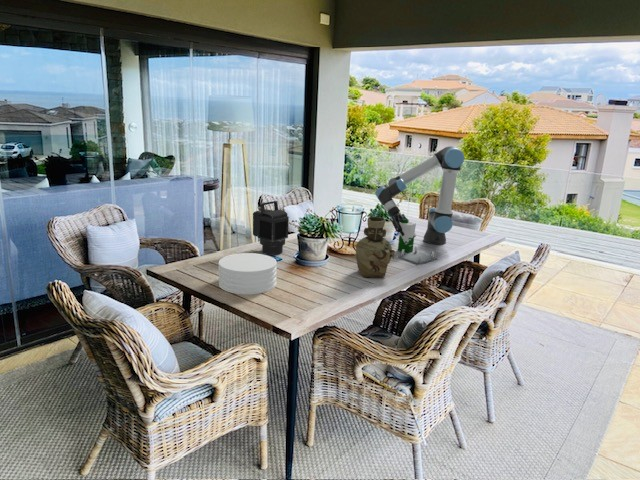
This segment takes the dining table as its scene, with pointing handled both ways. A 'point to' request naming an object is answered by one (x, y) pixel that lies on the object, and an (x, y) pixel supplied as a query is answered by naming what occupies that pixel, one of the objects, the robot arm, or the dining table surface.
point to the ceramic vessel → (374, 250)
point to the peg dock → (417, 257)
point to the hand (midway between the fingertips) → (411, 238)
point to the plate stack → (247, 273)
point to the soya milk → (410, 231)
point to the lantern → (271, 228)
